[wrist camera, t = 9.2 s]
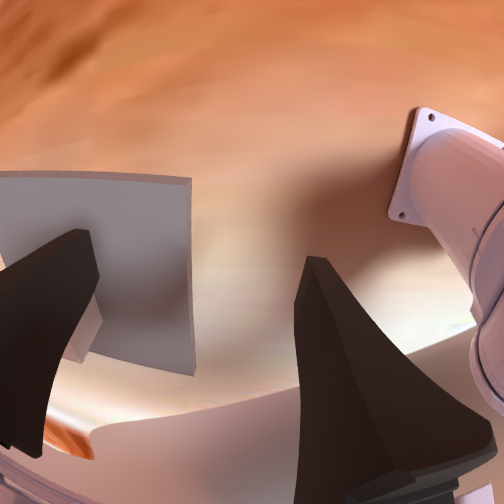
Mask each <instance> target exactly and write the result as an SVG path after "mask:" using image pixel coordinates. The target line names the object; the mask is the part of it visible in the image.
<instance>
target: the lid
mask: <svg viewBox="0 0 504 504" xmlns="http://www.w3.org/2000/svg"><path fill="white" fill-rule="evenodd" d="M191 191H192V178H188V177H176V176H164V175H151V174H135V173H117V172H93V171H0V253H1V256H2V258H3V261H4V263H5V266H6V268H7V267H8V266H10V265H12V264H13V263H15V262H17V261H18V260H20V259H22V258H23V257H25V256H27V255H28V254H30V253H32V252H33V251H35V250H36V249H38V248H40V247H41V246H43V245H45V244H46V243H48V242H50V241H51V240H53V239H55V238H57V237H59V236H60V235H62V234H64V233H66V232H68V231H70V230H73V229H75V228H76V229H85V230H89V231H90V236H91V241H92V246H93V250H94V255H95V259H96V263H97V267H98V271H99V275H100V278H99V281H98V283H97V286H96V289H95V291H94V293H93V296H92V298H91V301H90V303H89V305H88V306H87V308H86V310H85V312H84V314H83V316H82V318H81V320H80V321H79V323H78V325H77V327H76V329H75V331H74V333H73V335H72V337H71V338H70V340H69V342H68V344H67V346H66V348H65V351H64V353H63V355H62V357H63V358H65V359H68V360H71V361H74V362H77V363H80V364H82V362H83V360H84V358H85V356H86V354H87V352H88V351H90V352H94V353H97V354H100V355H104V356H107V357H111V358H115V359H118V360H122V361H126V362H130V363H134V364H138V365H142V366H146V367H151V368H155V369H160V370H164V371H169V372H174V373H179V374H184V375H189V376H194V373H195V369H196V358H195V342H194V323H193V300H192V263H191Z"/></svg>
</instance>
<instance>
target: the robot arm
mask: <svg viewBox="0 0 504 504" xmlns="http://www.w3.org/2000/svg"><path fill="white" fill-rule="evenodd" d="M429 114H432V119H431V120H429V119H428V116H429ZM502 148H503V150H502ZM401 212H404V213H403V215H402V216H399V214H400V213H401ZM388 216H389V217H390V219H391V220H394V221H399V222H404V223H409V224H413V225H418V226H423V227H428V228H429V229H430V230H431V232H432V233H433V234H434V236H435V237H436V238H437V240H438V241H439V243H440V244H441V246H442V247H443V248H444V250H445V251H446V253H447V254H448V256H449V257H450V259H451V260H452V262H453V263H454V265H455V266H456V268H457V269H458V271H459V272H460V274H461V276H462V277H463V279H464V280H465V282H466V284H467V285H468V287H469V289H470V290H471V292H472V293H473V297H474V298H473V304H472V306H471V309H470V312H471V314H472V316H473V318H474V320H475V321H476V323H477V325H478V327H479V329H478V330H477V331H476V333H475V335H474V337H473V339H472V342H471V347H470V366H471V371H472V374H473V378H474V380H475V382H476V385H477V387H478V389H479V391H480V392H481V394H482V396H483V397H484V399H485V400H486V401H487V403H488V404H489V405H490V406H491V407H492V408H493V409H494V410H495V411H497V412H498V413H499V414H501V415H502V416H504V143H503V142H501V141H499V140H497V139H495V138H493V137H491V136H490V135H488V134H486V133H484V132H482V131H480V130H478V129H475V128H473V127H471V126H469V125H467V124H465V123H463V122H460V121H458V120H456V119H454V118H451V117H449V116H447V115H444V114H442V113H439V112H437V111H434V110H432V109H429V108H426V107H419V108H418V109H417V111H416V114H415V119H414V123H413V127H412V131H411V135H410V139H409V143H408V147H407V150H406V154H405V158H404V161H403V165H402V168H401V172H400V175H399V178H398V182H397V185H396V188H395V191H394V194H393V197H392V200H391V203H390V206H389V209H388ZM99 278H100V275H99V271H98V267H97V263H96V259H95V255H94V250H93V246H92V241H91V236H90V231H89V230H85V229H76V228H75V229H73V230H70V231H68V232H66V233H64V234H62V235H60V236H59V237H57V238H55V239H53V240H51V241H50V242H48V243H46V244H45V245H43V246H41V247H40V248H38V249H36V250H35V251H33V252H32V253H30V254H28V255H27V256H25V257H23V258H22V259H20V260H18V261H17V262H15V263H13V264H12V265H10V266H8V267H7V268H5V269H4V270H2V271H0V445H2V446H3V447H5V448H6V449H8V450H9V449H10V447H11V446H13V447H15V448H17V449H18V450H20V451H22V452H23V453H25V454H27V455H29V456H30V457H32V458H39V457H41V456H42V445H43V432H44V424H45V417H46V411H47V406H48V401H49V397H50V393H51V389H52V385H53V381H54V378H55V375H56V372H57V369H58V366H59V363H60V360H61V358H62V355H63V353H64V351H65V348H66V346H67V344H68V342H69V340H70V338H71V337H72V335H73V333H74V331H75V329H76V327H77V325H78V323H79V321H80V320H81V318H82V316H83V314H84V312H85V310H86V308H87V306H88V305H89V303H90V301H91V298H92V296H93V293H94V291H95V289H96V286H97V283H98V281H99ZM294 337H295V346H296V356H297V365H298V374H299V384H300V398H301V416H300V418H301V419H300V421H301V422H300V442H299V459H298V469H297V480H296V488H295V496H294V503H293V504H494V498H493V492H492V486H491V483H487V484H484V485H482V486H480V487H478V488H476V489H474V490H471V491H469V492H467V493H465V494H462V495H460V496H458V497H455V498H454V496H453V491H454V490H456V489H458V487H459V483H458V477H460V476H462V475H464V474H466V473H468V472H470V471H472V470H473V469H475V468H477V467H479V466H481V465H482V464H484V463H486V462H487V461H489V460H490V459H492V458H493V457H494V456H496V454H497V452H498V449H497V445H496V442H495V438H494V434H493V430H492V427H491V424H490V421H488V420H487V419H485V418H483V417H482V416H480V415H479V414H477V413H476V412H474V411H473V410H471V409H470V408H468V407H466V406H465V405H463V404H462V403H460V402H459V401H458V400H456V399H455V398H454V397H452V396H451V395H450V394H448V393H447V392H446V391H445V390H443V389H442V388H441V387H439V386H438V385H437V384H436V383H435V382H433V381H432V380H431V379H430V378H429V377H427V376H426V375H425V374H424V373H423V372H422V371H421V370H420V369H419V368H418V367H416V366H415V365H414V364H413V363H412V362H411V361H410V360H409V359H408V358H407V357H406V356H405V355H404V354H403V353H402V352H401V351H400V350H399V349H398V348H397V347H396V346H395V345H394V344H393V343H392V342H391V341H390V339H389V338H388V337H387V336H386V335H385V334H384V333H383V332H382V331H381V329H380V328H379V327H378V326H377V325H376V323H375V322H374V321H373V320H372V319H371V317H370V316H369V315H368V314H367V312H366V311H365V310H364V309H363V307H362V306H361V305H360V303H359V302H358V301H357V300H356V298H355V297H354V296H353V294H352V293H351V292H350V290H349V289H348V287H347V286H346V285H345V283H344V282H343V280H342V279H341V278H340V276H339V275H338V274H337V272H336V271H335V269H334V268H333V267H332V265H331V264H330V262H329V261H328V260H327V258H321V257H313V256H307V258H306V262H305V266H304V270H303V273H302V277H301V281H300V284H299V288H298V292H297V295H296V299H295V302H294ZM3 475H4V476H5V477H7V478H8V479H10V480H11V481H13V482H14V483H16V484H18V485H19V486H21V487H22V488H24V489H26V490H27V491H29V492H31V493H32V494H34V495H36V496H38V497H40V498H41V499H43V500H45V501H47V502H49V503H51V504H103V503H100V502H97V501H95V500H92V499H89V498H87V497H84V496H82V495H80V494H77V493H75V492H73V491H70V490H68V489H66V488H64V487H62V486H59V485H57V484H55V483H53V482H51V481H49V480H47V479H45V478H43V477H41V476H40V475H38V474H36V473H34V472H32V471H30V470H29V469H27V468H25V467H23V466H22V465H20V464H18V463H17V462H15V461H14V460H12V459H10V458H9V457H7V456H6V455H4V454H2V453H1V452H0V504H46V503H44V502H43V501H42V500H40V499H38V498H37V497H35V496H33V495H31V494H29V493H27V492H25V491H23V490H21V489H19V488H17V487H15V486H13V485H11V484H9V483H7V482H6V481H5V480H4V476H3Z"/></svg>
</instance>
